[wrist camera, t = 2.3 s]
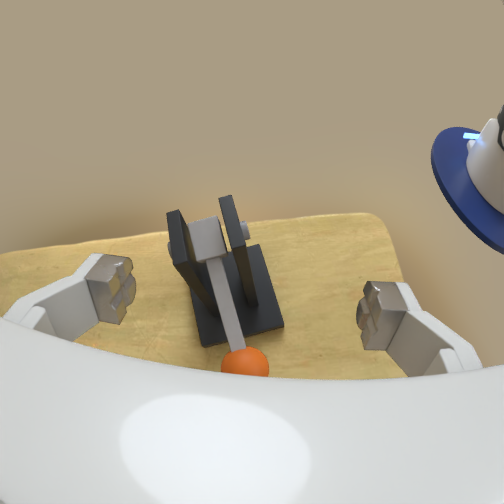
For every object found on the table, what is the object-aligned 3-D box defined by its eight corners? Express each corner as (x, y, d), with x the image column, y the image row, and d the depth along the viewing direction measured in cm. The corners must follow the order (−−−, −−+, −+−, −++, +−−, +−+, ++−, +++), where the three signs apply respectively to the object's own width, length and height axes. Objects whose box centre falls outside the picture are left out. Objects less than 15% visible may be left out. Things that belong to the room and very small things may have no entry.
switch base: (284, 326, 31) (289, 275, 18) (204, 348, 31) (150, 311, 18) (259, 248, 36) (248, 161, 23) (188, 267, 35) (140, 192, 22)
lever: (272, 376, 23) (276, 392, 19) (229, 387, 22) (227, 404, 19) (228, 220, 24) (225, 210, 20) (185, 232, 24) (175, 224, 20)
